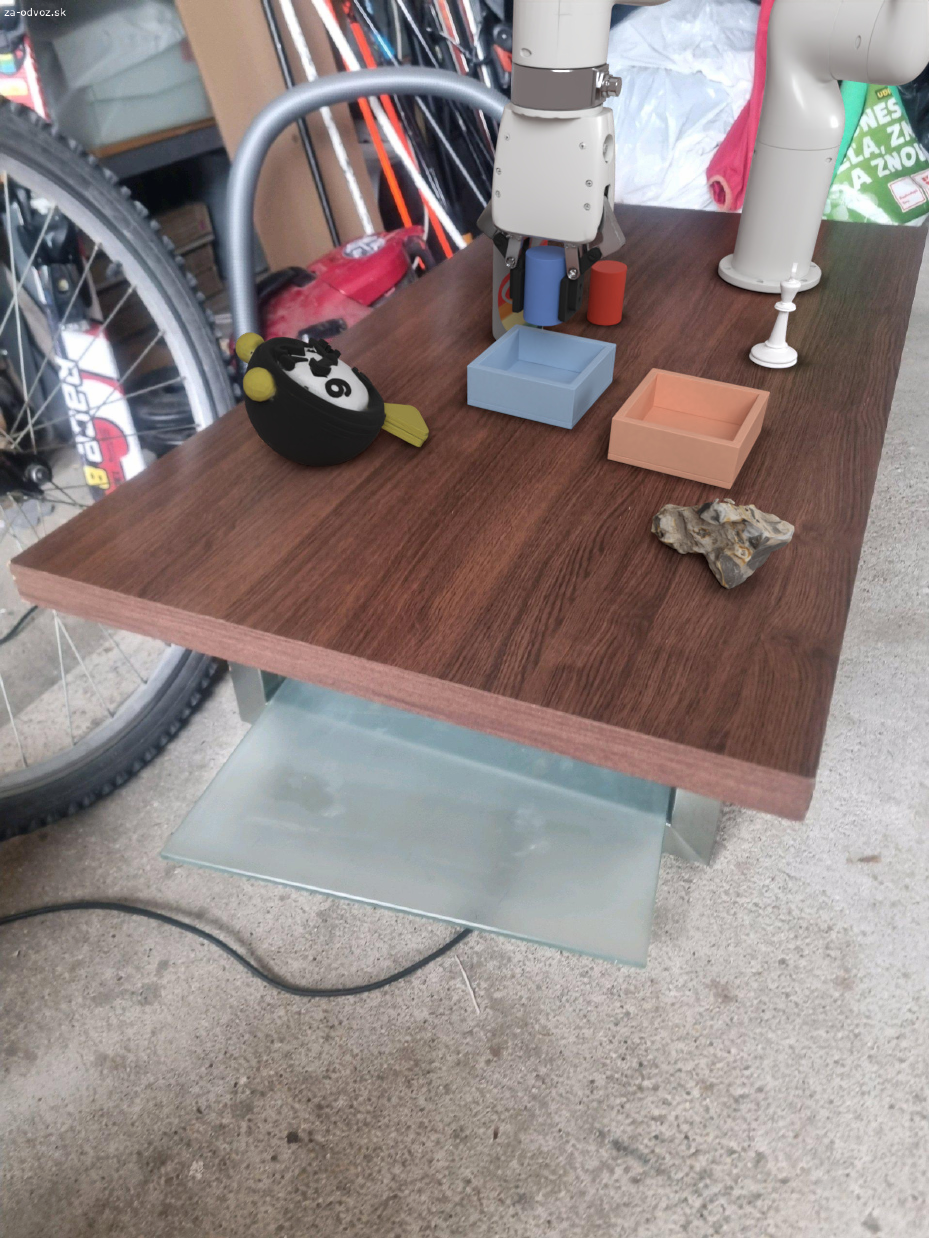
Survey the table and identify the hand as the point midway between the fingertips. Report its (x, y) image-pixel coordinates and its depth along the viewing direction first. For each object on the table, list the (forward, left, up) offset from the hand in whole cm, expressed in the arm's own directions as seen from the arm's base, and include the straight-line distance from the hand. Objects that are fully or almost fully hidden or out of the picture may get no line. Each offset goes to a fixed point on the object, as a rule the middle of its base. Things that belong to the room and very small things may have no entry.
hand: (544, 310), depth 81 cm
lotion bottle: (-12, -8, -9) cm, 17 cm away
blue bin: (0, 0, -8) cm, 8 cm away
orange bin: (+3, +16, -8) cm, 19 cm away
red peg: (-21, -1, -8) cm, 22 cm away
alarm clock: (+19, -12, -9) cm, 24 cm away
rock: (+19, +23, -9) cm, 31 cm away
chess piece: (-19, +19, -9) cm, 28 cm away
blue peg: (0, 0, -1) cm, 1 cm away
